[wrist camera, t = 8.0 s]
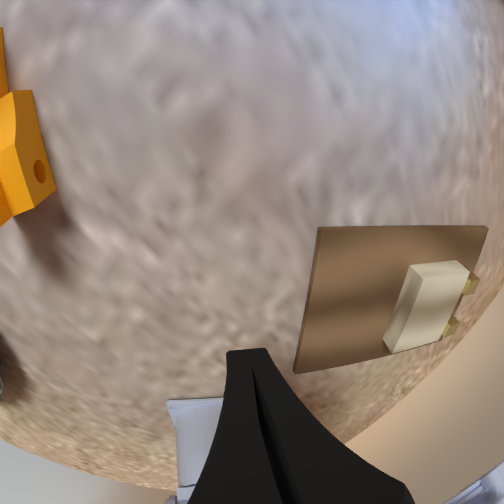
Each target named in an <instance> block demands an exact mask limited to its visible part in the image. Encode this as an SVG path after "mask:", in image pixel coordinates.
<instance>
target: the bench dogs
mask: <svg viewBox="0 0 504 504" xmlns="http://www.w3.org/2000/svg"><path fill="white" fill-rule="evenodd" d="M463 266H464V265H463ZM464 267H465V268H466V269H467V270H468V271H470V270H469V269H468V268H467V267H466V266H464ZM479 281H480V279H479V278H478V277H477V276H476V275H475V274H474V273H472V272H471V271H470V273H469V276H468V278H467V281H466V283H465V286H464V288H463V290H462V293H463V294H464V295H469V294H473V293H475V290H476V288H477V286H478V283H479ZM459 324H460V322H459V321H458V320H457V319H456V318H455V317H454V316H453V314H451V316H450V318H449V321H448V323H447V325H446V326H445V328H444V330H443V332H442V335H443V336H444V337H447V336H450V335H453V334H454V333H455V331H456V329H457V327H458V325H459Z"/></svg>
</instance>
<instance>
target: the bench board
mask: <svg viewBox="0 0 504 504" xmlns="http://www.w3.org/2000/svg"><path fill="white" fill-rule="evenodd" d="M488 229H489V228H487V227H486V226H347V227H318V231H317V238H316V245H315V251H314V258H313V264H312V270H311V277H310V283H309V289H308V294H307V300H306V306H305V311H304V317H303V322H302V327H301V332H300V338H299V343H298V348H297V352H296V357H295V362H294V367H293V371H294V374H300V373H306V372H312V371H318V370H324V369H329V368H334V367H340V366H344V365H349V364H354V363H359V362H363V361H367V360H372V359H376V358H380V357H384V356H388V355H392V353H391V351H390V350H389V348H388V347H387V345H386V343H385V342H384V340H383V336H384V334H385V331H386V329H387V327H388V324H389V322H390V319H391V316H392V314H393V311H394V309H395V306H396V303H397V301H398V298H399V295H400V292H401V289H402V286H403V284H404V281H405V278H406V275H407V272H408V268H409V265H416V264H426V263H435V262H444V261H453V260H457V261H458V262H459V263H460V264H462V265H464V266H466V267H467V268H468V269H469V270H470V271H471V272H472V273H473V271H474V269H475V266H476V264H477V261H478V258H479V256H480V253H481V250H482V247H483V244H484V242H485V239H486V236H487V232H488ZM463 295H464V294H463V293H461V295H460V297H459V299H458V302H457V304H456V306H455V308H454V310H453V312H452V314H453V316H454V314H455V312H456V310H457V308H458V306H459V304H460V302H461V300H462V297H463ZM442 338H443V335H442V334H441V336H440V338H439V340H438V341H440V340H442ZM435 342H437V341H435ZM431 343H434V342H431ZM431 343H428V344H431ZM425 345H427V344H425ZM422 346H424V345H422ZM418 347H421V346H418ZM415 348H417V347H415ZM411 349H414V348H411ZM408 350H410V349H408ZM404 351H407V350H404ZM400 352H403V351H400ZM400 352H397V353H400ZM393 354H396V353H393Z"/></svg>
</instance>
